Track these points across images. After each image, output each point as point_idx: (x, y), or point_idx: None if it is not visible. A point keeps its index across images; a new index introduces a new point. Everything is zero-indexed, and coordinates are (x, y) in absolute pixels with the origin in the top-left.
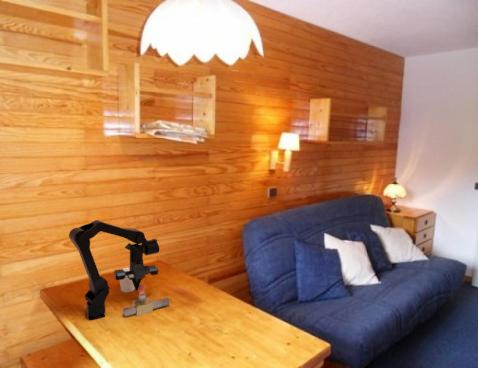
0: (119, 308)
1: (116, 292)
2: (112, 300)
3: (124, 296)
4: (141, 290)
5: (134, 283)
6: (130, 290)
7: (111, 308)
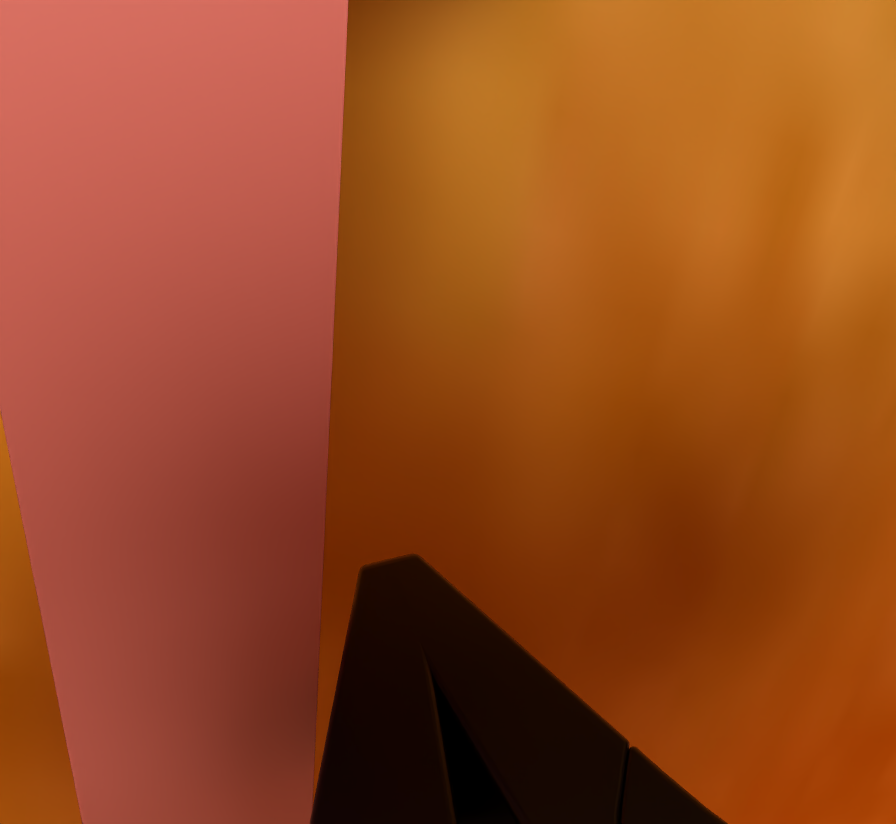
0: (727, 157)
1: None
2: (729, 528)
3: None
4: (181, 348)
5: (661, 821)
6: None
7: (857, 209)
